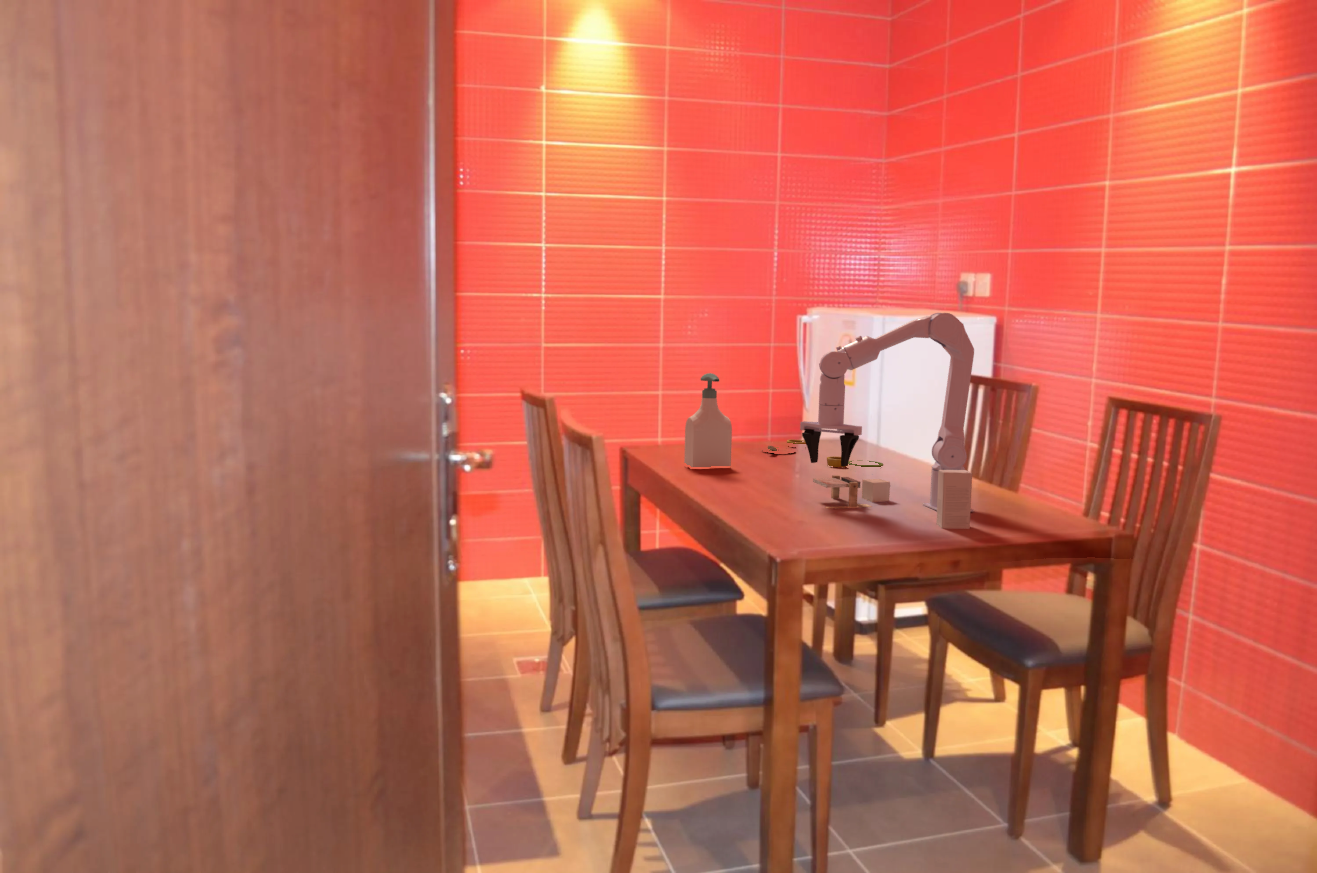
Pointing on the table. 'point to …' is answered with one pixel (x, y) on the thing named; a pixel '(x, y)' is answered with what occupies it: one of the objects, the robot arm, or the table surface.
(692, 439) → the soap bottle
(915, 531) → the table surface
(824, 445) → the table surface
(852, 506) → the frame
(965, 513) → the skincare box
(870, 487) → the beige block
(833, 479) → the trapdoor
